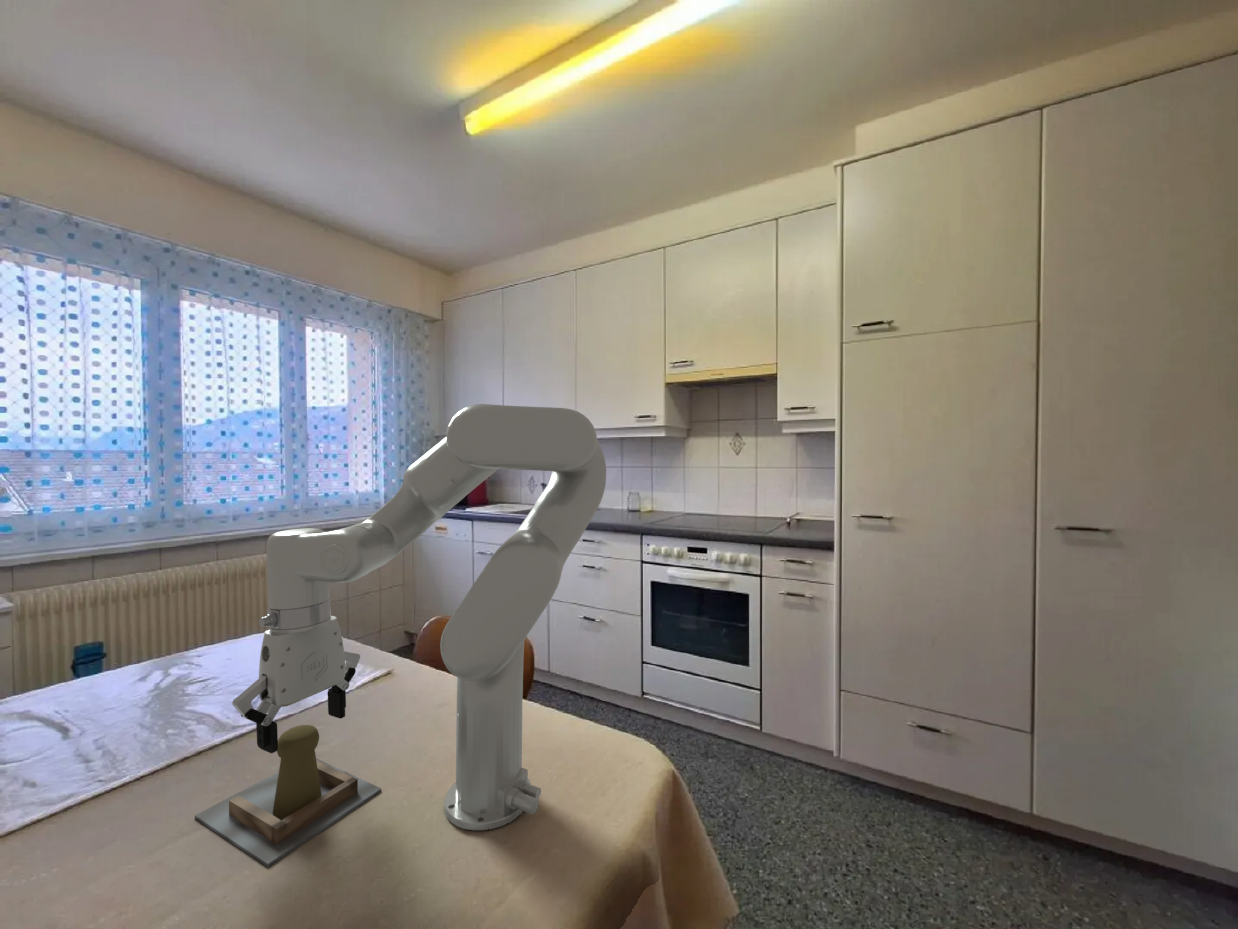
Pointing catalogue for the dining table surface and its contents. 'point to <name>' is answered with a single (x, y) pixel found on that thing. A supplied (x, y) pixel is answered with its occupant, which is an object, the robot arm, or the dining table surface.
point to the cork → (296, 771)
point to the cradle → (272, 838)
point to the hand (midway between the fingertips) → (304, 732)
